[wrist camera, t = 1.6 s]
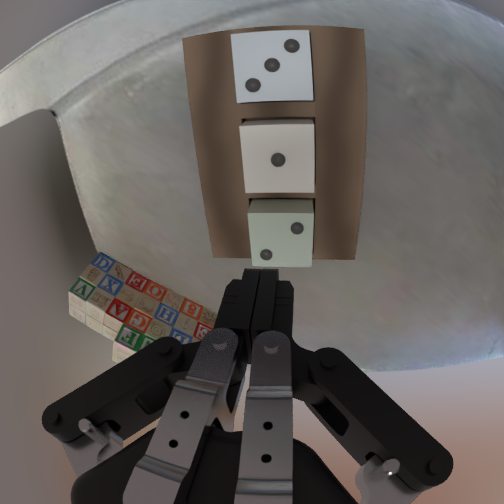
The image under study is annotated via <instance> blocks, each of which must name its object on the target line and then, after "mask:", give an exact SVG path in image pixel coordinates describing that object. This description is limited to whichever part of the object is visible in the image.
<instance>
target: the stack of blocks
mask: <svg viewBox="0 0 504 504" xmlns="http://www.w3.org/2000/svg"><path fill="white" fill-rule="evenodd" d="M69 313H70V315H71V316H73V317H74V318H76V319H78V320H79V321H81V322H82V323H84V324H86V325H87V326H88V327H90V328H92V329H93V330H95V331H97V332H98V333H100V334H102V335H104V336H105V337H107V338H109V339H111V340H113V341H114V344H113V354H112V360H113V361H115V362H117V363H120V362H122V361H123V360H125V359H126V358H128V357H130V356H131V355H133V354H134V353H136V352H138V351H139V350H141V349H142V348H144V347H145V346H147V345H149V344H150V343H152V342H153V341H155V340H157V339H158V338H161V337H166V336H170V337H174V338H176V339H178V340H179V341H180V343H181V344H187V343H193V342H198V341H200V340H202V339H203V337H204V336H205V335H206V334H207V333H208V332H209V331H211V330H213V327H214V324H215V321H216V318H217V315H218V314H216V313H214V312H212V311H210V310H208V309H206V308H204V307H203V306H201V305H199V304H197V303H195V302H193V301H191V300H189V299H187V298H185V297H183V296H181V295H179V294H177V293H175V292H173V291H171V290H169V289H166V288H165V287H162V286H160V285H159V284H157V283H155V282H153V281H151V280H149V279H147V278H145V277H143V276H141V275H139V274H138V273H136V272H134V271H132V270H131V269H129V268H127V267H126V266H124V265H122V264H120V263H119V262H117V261H115V260H113V259H112V258H110V257H108V256H106V255H104V254H103V253H101V252H100V253H99V254H98V256H97V257H96V258H95V259H94V260H93V261H92V262H91V264H90V265H89V266H88V267H87V268H86V269H85V270H84V272H83V273H82V274H81V275H80V277H79V278H78V280H77V281H76V282H75V283H74V285H73V286H72V287H71V289H70V290H69Z"/></svg>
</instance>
